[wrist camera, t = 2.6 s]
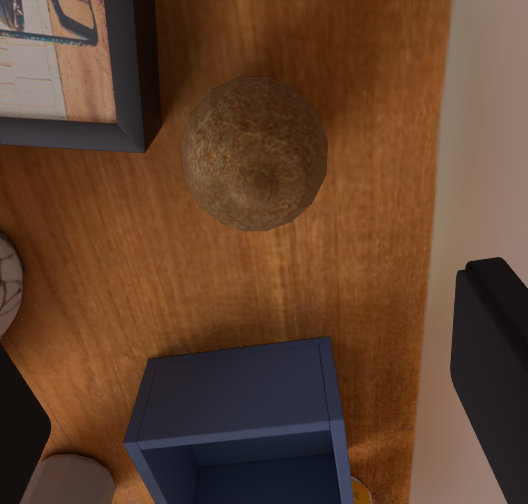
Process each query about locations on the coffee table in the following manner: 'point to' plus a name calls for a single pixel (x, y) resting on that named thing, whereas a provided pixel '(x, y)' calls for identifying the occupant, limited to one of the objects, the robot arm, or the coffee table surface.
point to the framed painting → (79, 74)
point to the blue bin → (242, 427)
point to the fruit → (254, 153)
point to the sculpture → (9, 283)
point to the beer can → (360, 492)
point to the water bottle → (69, 482)
